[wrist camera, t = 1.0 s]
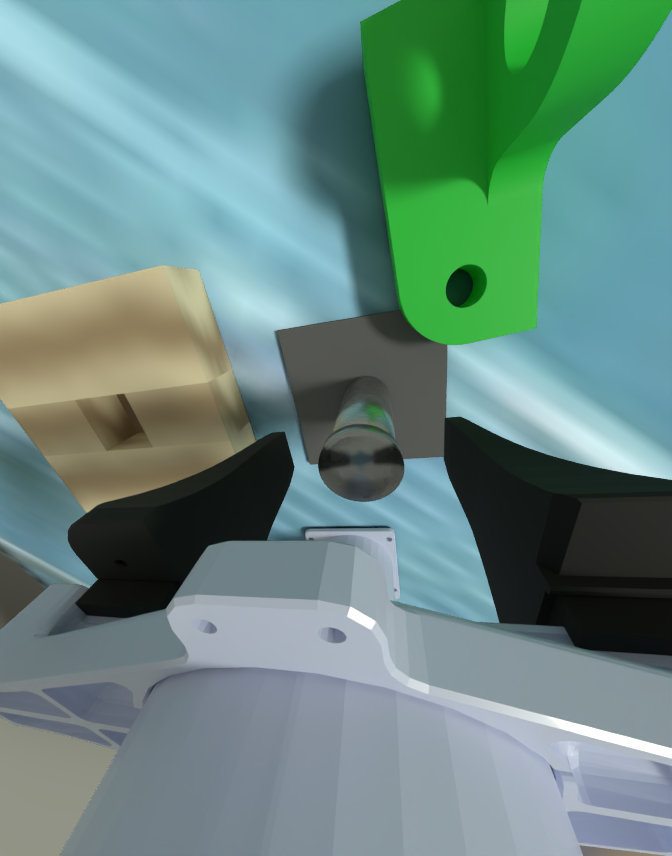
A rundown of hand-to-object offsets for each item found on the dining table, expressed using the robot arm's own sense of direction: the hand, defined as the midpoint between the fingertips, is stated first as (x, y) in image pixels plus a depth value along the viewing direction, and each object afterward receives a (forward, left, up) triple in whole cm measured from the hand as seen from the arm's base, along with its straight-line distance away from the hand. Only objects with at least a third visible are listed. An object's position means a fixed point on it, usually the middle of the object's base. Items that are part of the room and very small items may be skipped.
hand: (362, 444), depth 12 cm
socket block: (+1, +17, -7) cm, 18 cm away
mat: (0, 0, -7) cm, 7 cm away
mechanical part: (+9, -5, -7) cm, 12 cm away
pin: (0, 0, -6) cm, 6 cm away
